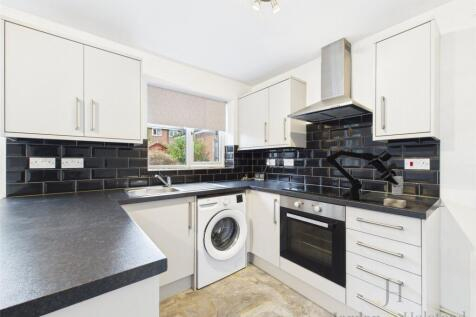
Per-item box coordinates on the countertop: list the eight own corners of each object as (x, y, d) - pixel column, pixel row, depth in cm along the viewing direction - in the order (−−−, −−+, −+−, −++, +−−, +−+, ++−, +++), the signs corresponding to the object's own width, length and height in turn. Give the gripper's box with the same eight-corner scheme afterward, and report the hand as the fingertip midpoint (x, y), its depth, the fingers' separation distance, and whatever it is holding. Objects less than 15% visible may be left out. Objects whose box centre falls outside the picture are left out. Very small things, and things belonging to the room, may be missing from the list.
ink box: (394, 192, 143) (394, 175, 143) (403, 193, 139) (403, 176, 139) (391, 194, 137) (391, 176, 137) (401, 195, 133) (401, 177, 133)
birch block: (383, 205, 134) (383, 199, 134) (387, 204, 139) (387, 198, 139) (403, 208, 126) (403, 201, 126) (406, 206, 131) (406, 200, 131)
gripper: (386, 158, 135) (407, 176, 127) (393, 158, 147) (413, 175, 139) (372, 170, 141) (391, 188, 133) (380, 169, 153) (398, 186, 145)
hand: (399, 184), depth 137 cm, fingers closed on ink box, 9 cm apart
